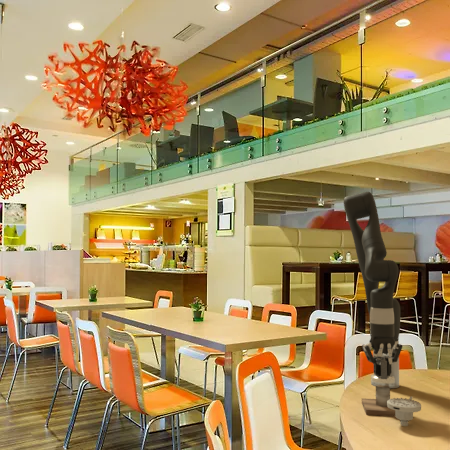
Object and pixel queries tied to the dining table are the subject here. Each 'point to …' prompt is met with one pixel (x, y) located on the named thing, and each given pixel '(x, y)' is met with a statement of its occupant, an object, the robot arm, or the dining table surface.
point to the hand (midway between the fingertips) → (382, 375)
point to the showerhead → (404, 409)
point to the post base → (375, 408)
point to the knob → (383, 376)
